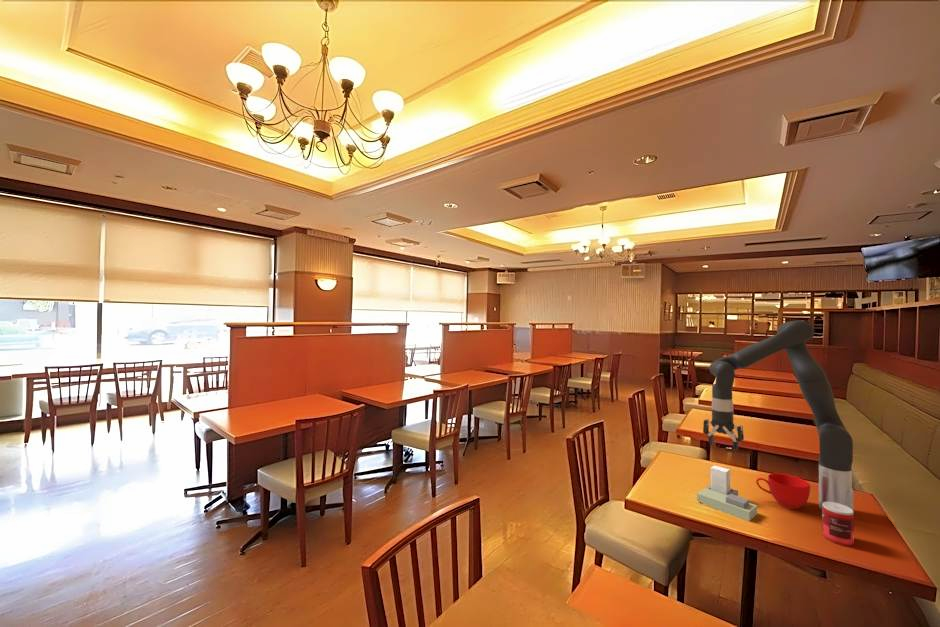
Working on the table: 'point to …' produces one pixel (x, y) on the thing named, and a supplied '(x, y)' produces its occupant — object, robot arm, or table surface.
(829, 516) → the canned food
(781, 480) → the ceramic cup
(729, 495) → the green base with arch
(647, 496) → the table surface
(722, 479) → the skincare box
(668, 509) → the table surface
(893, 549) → the table surface
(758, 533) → the table surface
